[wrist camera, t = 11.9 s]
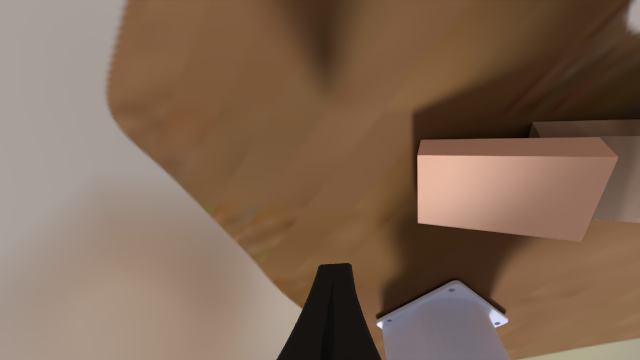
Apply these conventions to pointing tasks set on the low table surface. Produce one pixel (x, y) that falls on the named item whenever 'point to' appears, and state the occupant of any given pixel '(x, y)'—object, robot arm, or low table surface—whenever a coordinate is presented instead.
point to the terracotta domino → (514, 184)
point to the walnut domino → (630, 169)
